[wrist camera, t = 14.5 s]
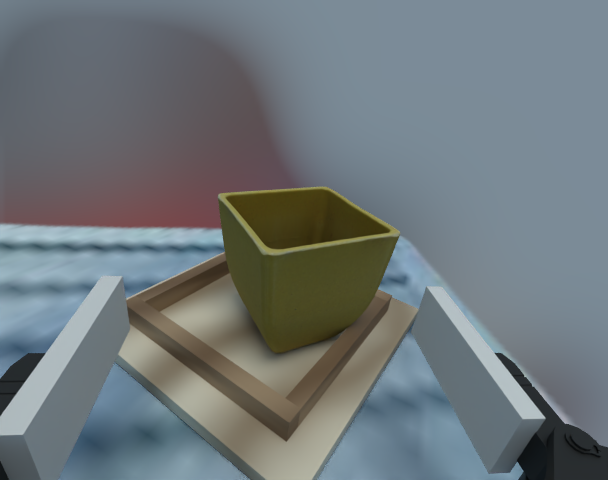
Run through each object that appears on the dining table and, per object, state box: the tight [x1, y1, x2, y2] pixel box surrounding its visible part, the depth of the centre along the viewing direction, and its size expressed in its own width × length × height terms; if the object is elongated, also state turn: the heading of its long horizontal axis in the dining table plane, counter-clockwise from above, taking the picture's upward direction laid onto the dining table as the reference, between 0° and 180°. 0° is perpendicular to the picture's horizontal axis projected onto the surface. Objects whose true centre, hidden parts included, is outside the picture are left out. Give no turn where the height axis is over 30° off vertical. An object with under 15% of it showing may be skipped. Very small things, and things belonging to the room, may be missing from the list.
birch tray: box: [115, 252, 419, 480], centre depth 26 cm, size 18×18×2 cm
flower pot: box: [218, 187, 400, 353], centre depth 24 cm, size 9×9×9 cm
